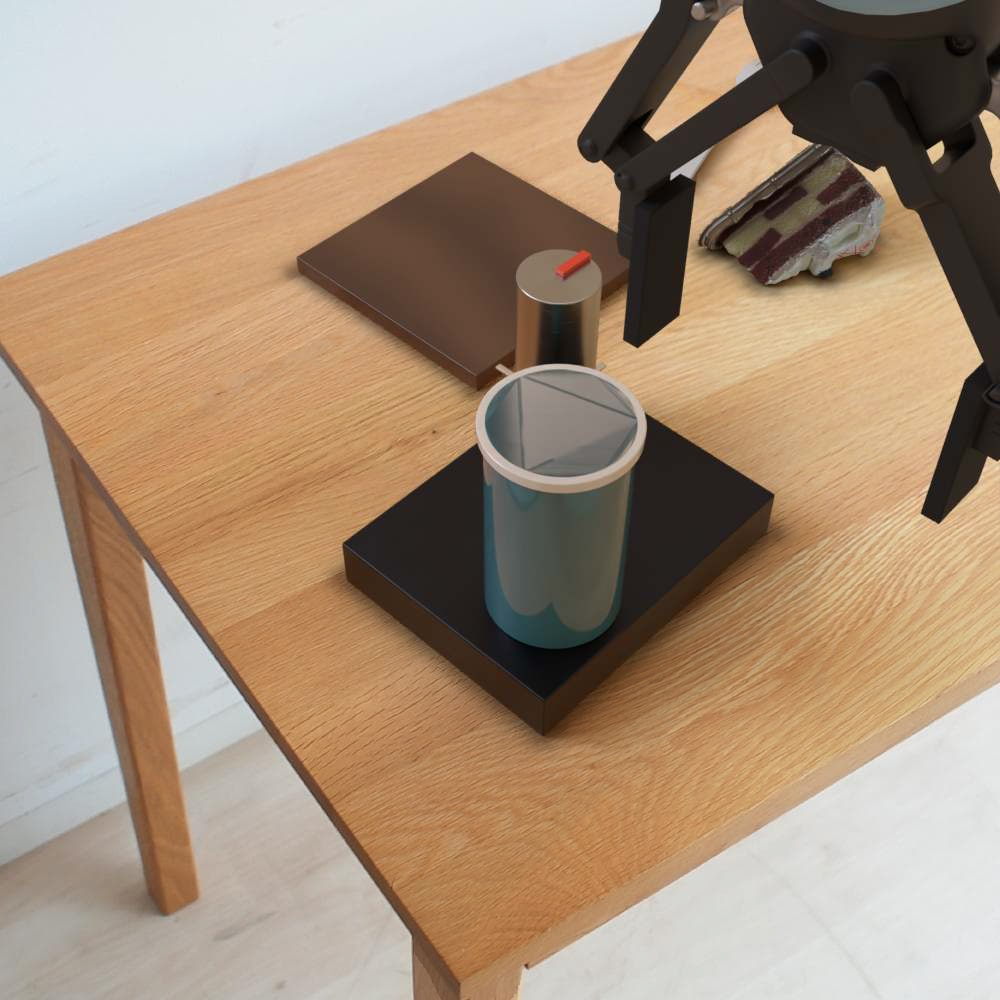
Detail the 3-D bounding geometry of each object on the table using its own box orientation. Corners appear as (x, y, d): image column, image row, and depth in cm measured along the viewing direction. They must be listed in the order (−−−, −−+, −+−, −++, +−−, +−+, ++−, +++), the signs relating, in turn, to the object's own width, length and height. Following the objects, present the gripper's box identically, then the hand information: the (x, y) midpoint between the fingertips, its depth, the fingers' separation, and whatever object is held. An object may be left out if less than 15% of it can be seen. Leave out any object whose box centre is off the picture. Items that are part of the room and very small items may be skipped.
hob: (542, 737, 69) (544, 700, 67) (304, 546, 77) (297, 507, 75) (782, 518, 79) (791, 478, 76) (547, 368, 87) (548, 328, 84)
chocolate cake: (756, 321, 90) (906, 182, 86) (687, 240, 92) (831, 101, 88) (799, 337, 98) (938, 212, 94) (735, 263, 101) (868, 137, 96)
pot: (558, 681, 68) (567, 512, 59) (447, 595, 71) (439, 423, 62) (658, 591, 71) (682, 419, 62) (548, 514, 75) (555, 340, 66)
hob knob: (556, 443, 78) (562, 311, 71) (497, 403, 80) (497, 271, 73) (609, 401, 80) (620, 270, 73) (551, 364, 82) (556, 233, 75)
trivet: (476, 390, 85) (476, 376, 84) (297, 271, 93) (295, 256, 92) (649, 266, 93) (651, 251, 92) (472, 165, 100) (471, 150, 99)
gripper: (1436, -51, 35) (1145, 520, 51) (639, -308, 47) (602, 226, 62) (1315, 72, 32) (1041, 647, 47) (480, -240, 43) (483, 310, 59)
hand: (791, 409), depth 55 cm, fingers open, 13 cm apart
